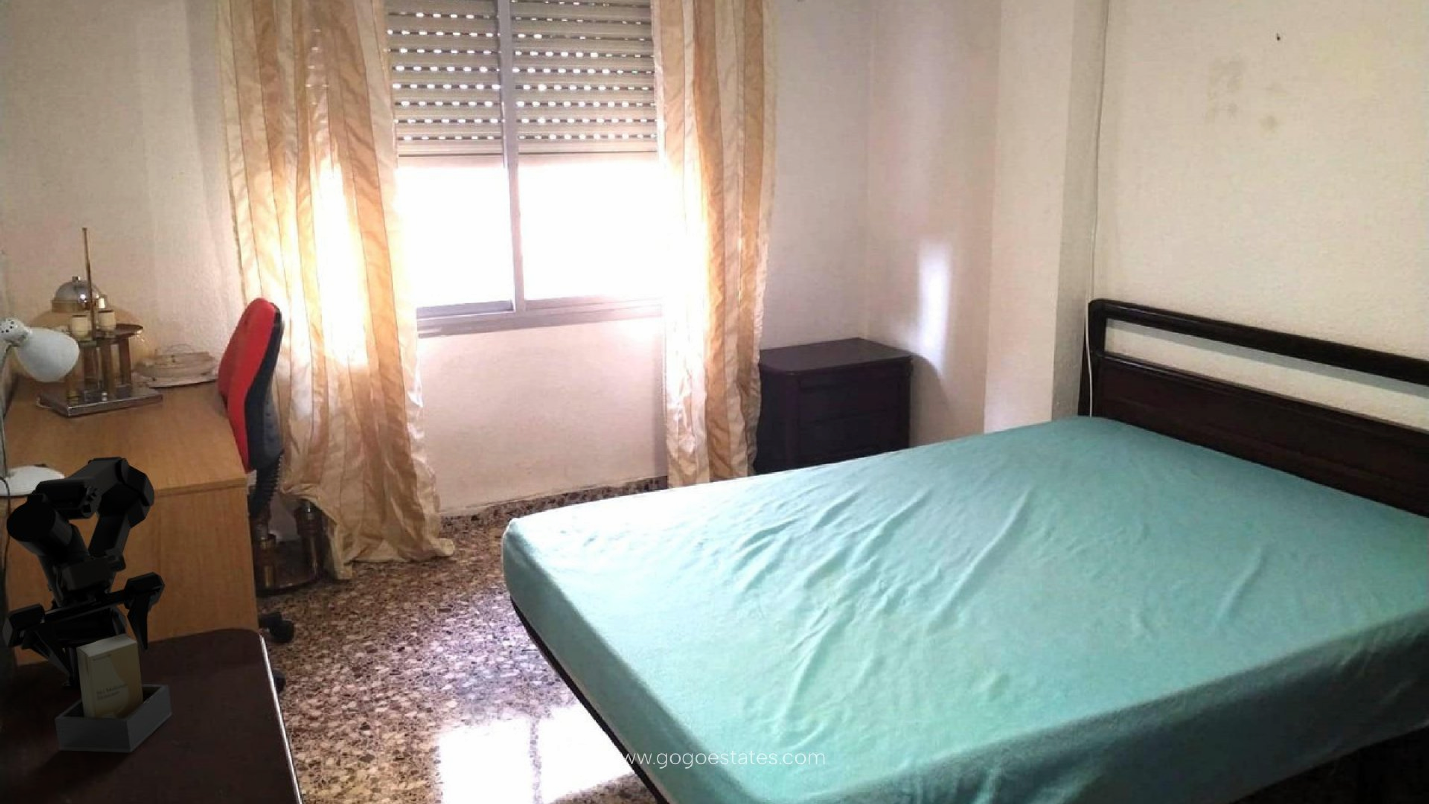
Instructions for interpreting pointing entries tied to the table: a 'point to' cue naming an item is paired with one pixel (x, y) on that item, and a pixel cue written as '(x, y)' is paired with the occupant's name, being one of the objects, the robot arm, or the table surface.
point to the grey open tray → (114, 724)
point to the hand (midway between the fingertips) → (109, 662)
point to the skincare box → (110, 677)
